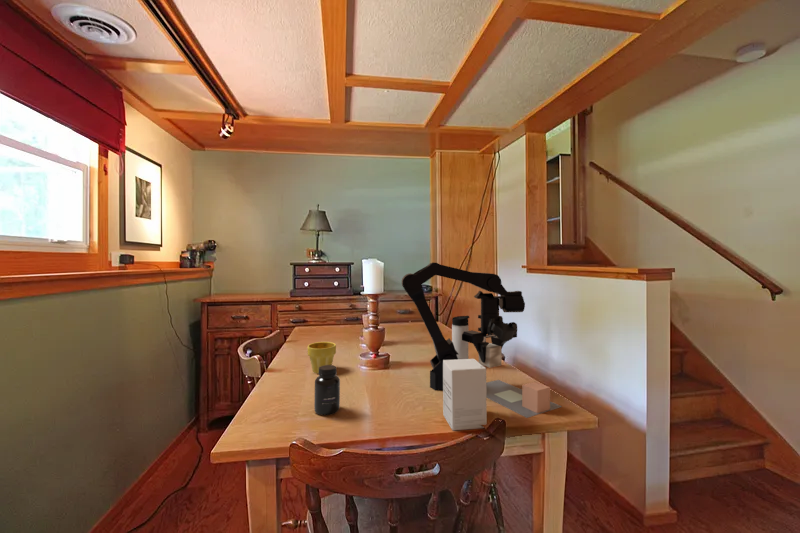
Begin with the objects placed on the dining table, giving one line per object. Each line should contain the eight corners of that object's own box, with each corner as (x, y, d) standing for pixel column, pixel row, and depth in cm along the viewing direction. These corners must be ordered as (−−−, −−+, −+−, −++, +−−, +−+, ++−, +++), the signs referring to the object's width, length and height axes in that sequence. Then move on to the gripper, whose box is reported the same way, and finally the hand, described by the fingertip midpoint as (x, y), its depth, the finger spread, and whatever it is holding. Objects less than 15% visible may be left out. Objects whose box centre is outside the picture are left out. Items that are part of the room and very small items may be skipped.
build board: (526, 421, 87) (526, 417, 87) (466, 390, 108) (466, 386, 108) (562, 410, 94) (562, 406, 94) (498, 382, 115) (498, 379, 115)
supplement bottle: (327, 418, 89) (327, 372, 89) (309, 412, 92) (308, 368, 92) (345, 408, 95) (344, 365, 94) (327, 403, 98) (326, 362, 98)
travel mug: (470, 370, 128) (470, 317, 127) (453, 370, 128) (453, 317, 127) (467, 365, 134) (467, 314, 134) (450, 365, 134) (451, 314, 134)
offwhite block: (489, 367, 105) (489, 348, 105) (478, 363, 110) (478, 345, 109) (501, 365, 108) (501, 346, 107) (490, 361, 112) (490, 343, 112)
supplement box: (474, 412, 92) (474, 357, 92) (487, 428, 83) (487, 368, 83) (442, 414, 91) (442, 359, 91) (451, 431, 82) (451, 369, 82)
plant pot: (332, 375, 122) (332, 348, 122) (304, 375, 122) (304, 348, 122) (338, 366, 132) (338, 341, 132) (311, 366, 132) (311, 341, 132)
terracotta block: (537, 413, 89) (537, 390, 89) (522, 406, 94) (522, 384, 94) (549, 409, 92) (550, 387, 92) (534, 402, 96) (534, 381, 96)
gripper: (485, 318, 97) (485, 373, 97) (530, 313, 106) (530, 363, 106) (460, 313, 107) (460, 363, 107) (504, 309, 115) (504, 354, 116)
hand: (489, 361), depth 109 cm, fingers closed on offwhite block, 5 cm apart
